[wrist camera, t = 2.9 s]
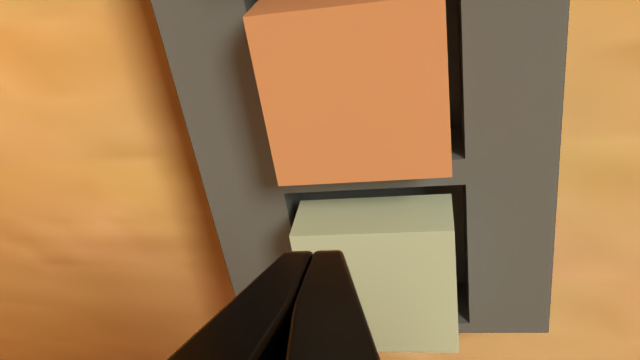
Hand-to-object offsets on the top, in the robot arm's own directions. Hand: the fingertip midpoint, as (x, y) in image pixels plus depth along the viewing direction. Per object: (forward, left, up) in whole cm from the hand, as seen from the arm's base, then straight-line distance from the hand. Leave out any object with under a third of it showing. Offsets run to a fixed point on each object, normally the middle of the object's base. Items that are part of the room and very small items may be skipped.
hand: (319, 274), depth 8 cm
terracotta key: (0, 0, -8) cm, 8 cm away
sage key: (-6, 0, -8) cm, 10 cm away
